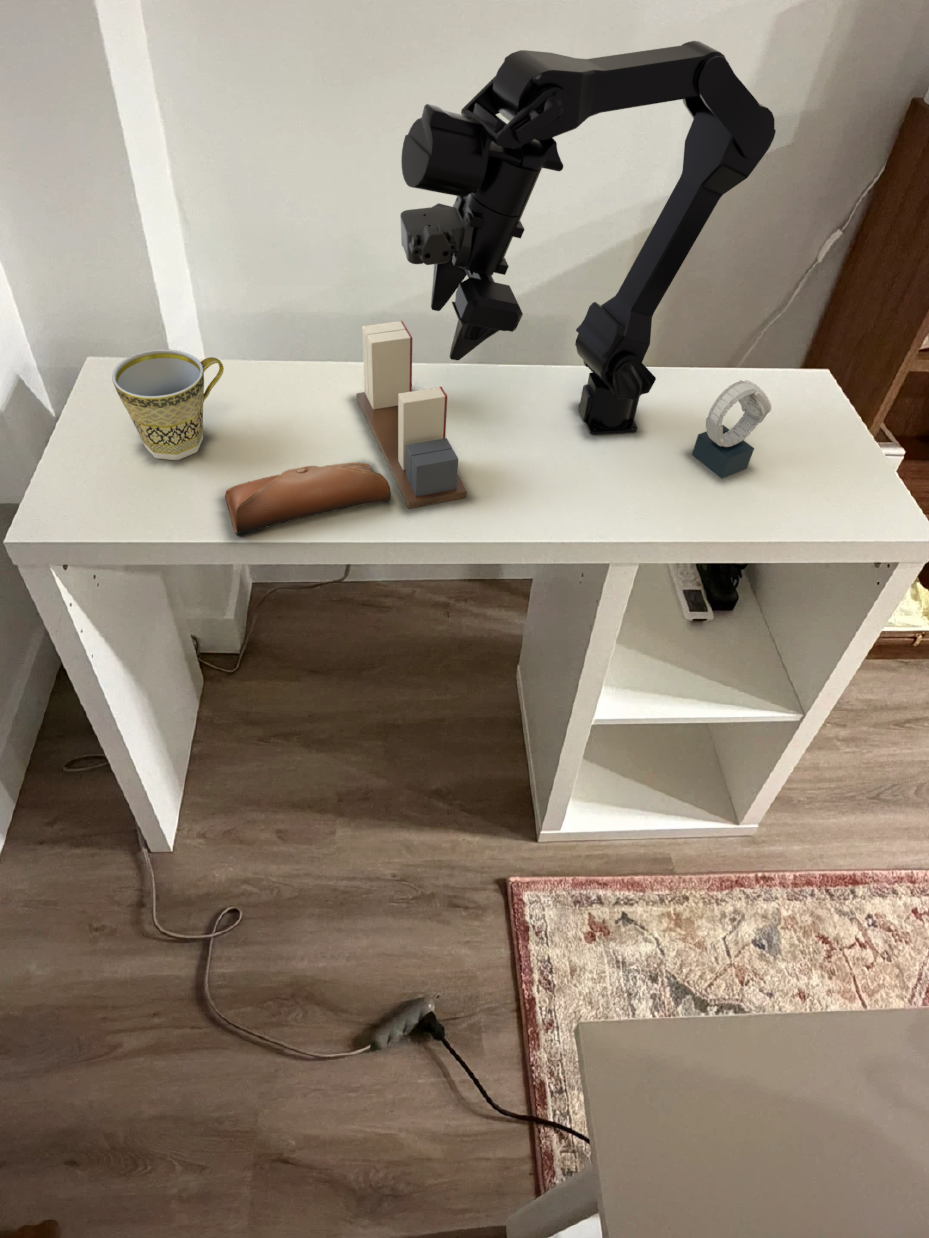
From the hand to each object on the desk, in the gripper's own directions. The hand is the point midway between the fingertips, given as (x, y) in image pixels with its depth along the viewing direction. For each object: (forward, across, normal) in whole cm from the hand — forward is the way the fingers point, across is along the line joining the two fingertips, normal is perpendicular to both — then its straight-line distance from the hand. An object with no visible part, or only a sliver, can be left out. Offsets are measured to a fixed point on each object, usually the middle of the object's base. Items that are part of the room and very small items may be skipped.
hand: (444, 333), depth 97 cm
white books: (+16, -9, 0) cm, 18 cm away
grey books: (+15, +9, +1) cm, 18 cm away
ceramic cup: (+24, -5, -25) cm, 35 cm away
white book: (+14, +5, +1) cm, 15 cm away
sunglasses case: (+19, +9, -13) cm, 25 cm away
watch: (+4, +11, +37) cm, 39 cm away
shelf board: (+16, +1, +1) cm, 16 cm away
